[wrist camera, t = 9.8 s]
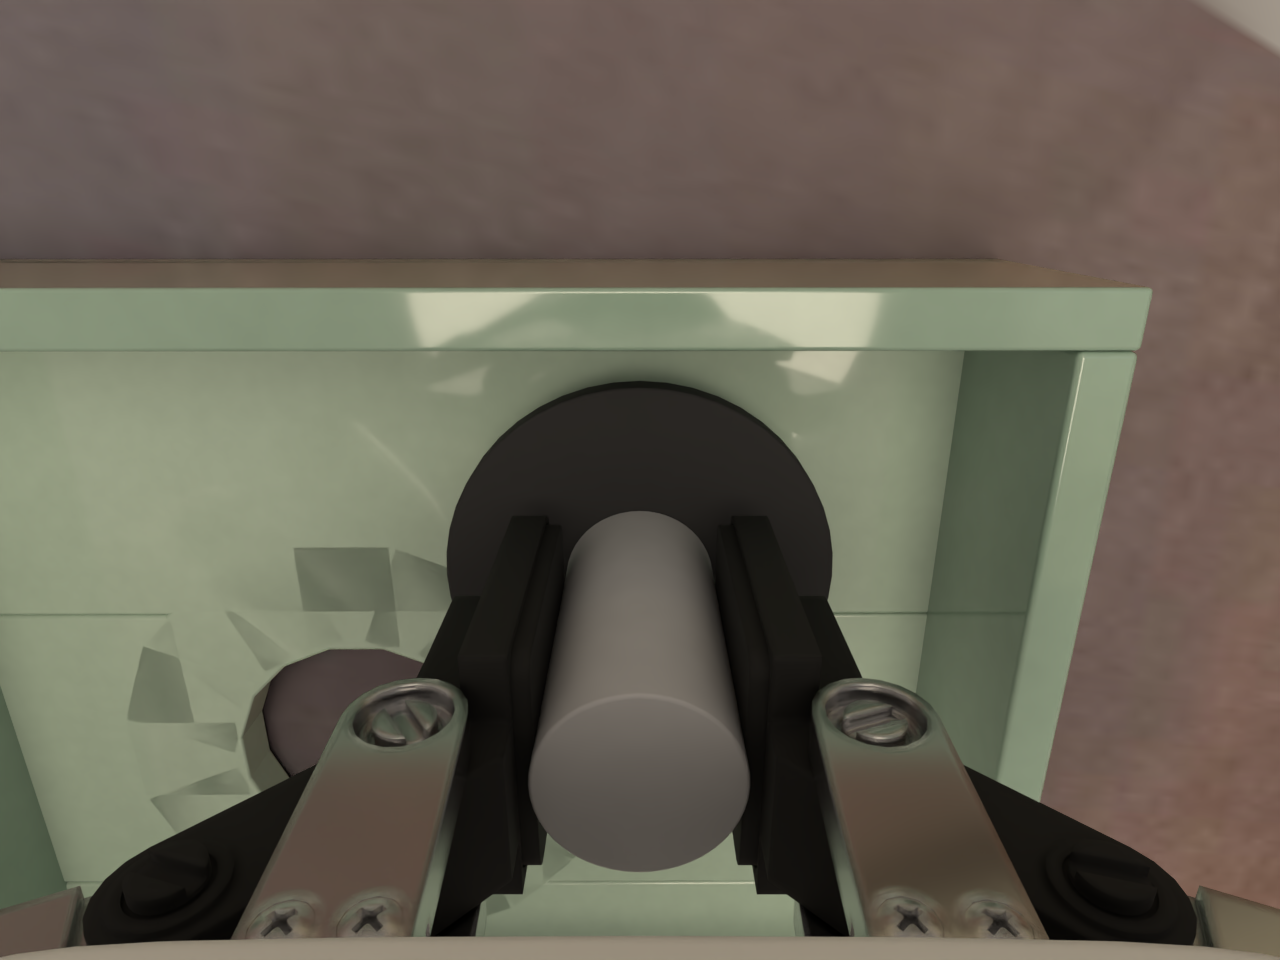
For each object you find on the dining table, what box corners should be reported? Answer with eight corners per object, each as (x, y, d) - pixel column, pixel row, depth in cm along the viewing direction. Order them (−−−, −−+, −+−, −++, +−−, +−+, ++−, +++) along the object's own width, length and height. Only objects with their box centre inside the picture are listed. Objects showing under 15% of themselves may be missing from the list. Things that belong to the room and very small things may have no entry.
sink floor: (897, 928, 19) (910, 965, 19) (87, 931, 19) (59, 968, 18) (999, 258, 14) (1025, 263, 13) (-132, 258, 14) (-188, 263, 13)
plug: (801, 689, 15) (900, 1000, 10) (476, 688, 15) (374, 998, 10) (830, 368, 13) (983, 516, 7) (449, 366, 13) (295, 513, 7)
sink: (897, 928, 19) (970, 1132, 15) (87, 931, 19) (-66, 1137, 15) (999, 258, 14) (1156, 288, 10) (-132, 258, 14) (-468, 288, 10)
